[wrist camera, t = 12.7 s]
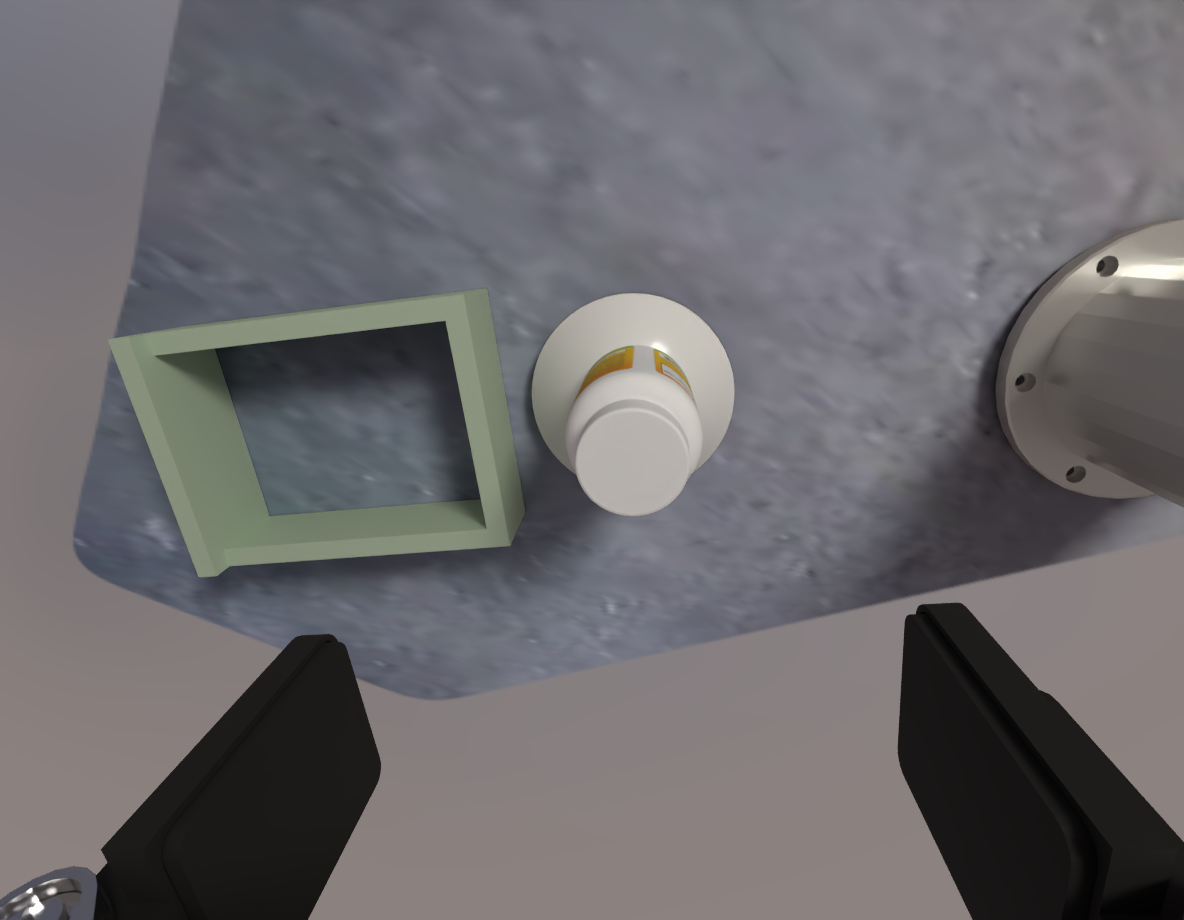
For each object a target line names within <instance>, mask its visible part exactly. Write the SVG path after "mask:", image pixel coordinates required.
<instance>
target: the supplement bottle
mask: <svg viewBox="0 0 1184 920" xmlns="http://www.w3.org/2000/svg"><path fill="white" fill-rule="evenodd" d="M565 442H566V449H567V453H568V456H569V459H570V462H571V464H572V467H573V469H574V470H575V472H576V475H577V478H578V481H579V483H580V485H581V487H582V489H583V490H584V492H585V493H586V494H587V496H588V497H589V498H590V499H591V500H592V501H593V502H595V503H596V504H597V505H598V506H600V507H601V508H603V509H605V510H607V511H609V512H612V513H615V514H619V515H623V516H642V515H647V514H651V513H654V512H656V511H659V510H661V509H662V508H664V507H666V506H667V505H668V504H670V503H671V502H672V501H673V500H675V498H676V497H677V496H678V495H679V494H680V492H681V491H682V489H683V487H684V485H685V483H686V481H687V480H688V479H689V477H690V476H691V475H692V473H693V472H694V470H695V468H696V466H697V464H698V462H699V459H700V456H701V452H702V447H703V429H702V423H701V418H700V414H699V411H698V409H697V406H696V403H695V399H694V396H693V393H692V390H691V387H690V384H689V382H688V379H687V377H686V375H685V373H684V372H683V370H682V368H681V367H680V366H679V365H678V363H677V362H676V361H675V360H674V359H673V358H671V357H670V356H669V355H667V354H666V353H664V352H663V351H660V350H658V349H656V348H653V347H649V346H644V345H629V346H624V347H620V348H617V349H614V350H612V351H610V352H608V353H607V354H605V355H604V356H602V357H601V358H600V359H599V360H598V361H597V362H596V363H595V364H594V365H593V366H592V367H591V369H590V370H589V372H588V373H587V375H586V377H585V379H584V381H583V384H582V386H581V388H580V390H579V392H578V395H577V397H576V399H575V401H574V403H573V406H572V408H571V410H570V413H569V416H568V419H567V424H566V431H565Z"/></svg>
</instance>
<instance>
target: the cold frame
mask: <svg viewBox="0 0 1184 920" xmlns="http://www.w3.org/2000/svg"><path fill="white" fill-rule="evenodd" d="M440 321H446V326H447V331H448V336H449V341H450V346H451V351H452V356H453V361H454V366H455V371H456V376H457V381H458V386H459V391H460V396H461V401H462V406H463V411H464V416H465V421H466V427H467V432H468V437H469V442H470V447H471V452H472V457H473V462H474V467H475V472H476V477H477V482H478V487H479V492H480V497H481V499H474V500H462V501H449V502H437V503H425V504H413V505H401V506H388V507H376V508H364V509H352V510H340V511H327V512H315V513H303V514H291V515H279V516H269V513H268V510H267V507H266V504H265V501H264V498H263V494H262V491H261V488H260V485H259V482H258V479H257V476H256V473H255V470H254V467H253V464H252V461H251V458H250V455H249V452H248V448H247V445H246V442H245V439H244V436H243V433H242V430H241V427H240V424H239V421H238V418H237V415H236V412H235V409H234V406H233V403H232V399H231V396H230V393H229V390H228V387H227V384H226V381H225V378H224V375H223V372H222V369H221V366H220V363H219V360H218V357H217V353H216V350H215V348H223V347H231V346H239V345H248V344H256V343H264V342H273V341H281V340H289V339H298V338H306V337H314V336H323V335H331V334H339V333H348V332H356V331H365V330H373V329H381V328H390V327H398V326H406V325H415V324H423V323H431V322H440ZM108 342H109V344H110V347H111V349H112V352H113V355H114V357H115V360H116V362H117V365H118V368H119V370H120V373H121V375H122V378H123V381H124V383H125V386H126V389H127V391H128V394H129V396H130V399H131V402H132V404H133V407H134V409H135V412H136V415H137V417H138V420H139V423H140V425H141V428H142V430H143V433H144V436H145V438H146V441H147V443H148V446H149V449H150V451H151V454H152V457H153V459H154V462H155V464H156V467H157V470H158V472H159V475H160V477H161V480H162V483H163V485H164V488H165V491H166V493H167V496H168V498H169V501H170V504H171V506H172V509H173V511H174V514H175V517H176V519H177V522H178V524H179V527H180V530H181V532H182V535H183V538H184V540H185V543H186V545H187V548H188V551H189V553H190V556H191V558H192V561H193V564H194V566H195V569H196V572H197V574H198V577H211V576H218V575H219V574H220V573H222V572H223V571H224V570H225V569H227V568H228V567H229V566H239V565H253V564H267V563H281V562H295V561H309V560H323V559H337V558H351V557H365V556H379V555H393V554H406V553H420V552H434V551H448V550H462V549H476V548H490V547H504V546H510V545H511V543H512V541H513V539H514V537H515V534H516V532H517V530H518V528H519V526H520V523H521V521H522V519H523V517H524V515H525V512H526V511H525V506H524V500H523V494H522V488H521V482H520V477H519V471H518V465H517V459H516V454H515V448H514V442H513V436H512V430H511V425H510V419H509V413H508V407H507V402H506V396H505V390H504V384H503V378H502V373H501V367H500V361H499V355H498V350H497V344H496V338H495V332H494V326H493V321H492V315H491V309H490V303H489V298H488V292H487V288H485V289H477V290H469V291H461V292H453V293H445V294H437V295H429V296H421V297H414V298H406V299H398V300H390V301H382V302H374V303H366V304H358V305H350V306H342V307H334V308H326V309H318V310H310V311H302V312H294V313H286V314H278V315H270V316H262V317H254V318H246V319H238V320H230V321H222V322H214V323H206V324H198V325H190V326H184V327H178V328H172V329H167V330H161V331H155V332H149V333H143V334H137V335H131V336H125V337H119V338H114V339H108Z"/></svg>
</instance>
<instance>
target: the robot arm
mask: <svg viewBox="0 0 1184 920" xmlns="http://www.w3.org/2000/svg"><path fill="white" fill-rule="evenodd" d="M1097 264H1098V266H1097ZM1096 267H1097V268H1096ZM1018 377H1019V379H1018V381H1017V382H1016V380H1017V378H1018ZM1015 382H1016V383H1015ZM995 388H996V405H997V413H998V416H999V419H1000V423H1001V426H1002V430H1003V432H1004V434H1005V436H1006V438H1007V439H1008V441H1009V443H1010V445H1011V446H1012V448H1013V450H1014V451H1015V452H1016V453H1017V455H1018V456H1019V457H1020V458H1021V459H1022V460H1023V461H1024V462H1025V463H1026V464H1027V465H1028V466H1029V467H1030V468H1032V469H1033V470H1035V471H1036V472H1038V473H1039V474H1041V475H1042V476H1044V477H1045V478H1047V479H1049V480H1050V481H1052V482H1054V483H1056V484H1058V485H1060V486H1062V487H1063V488H1066V489H1068V490H1071V491H1075V492H1078V493H1082V494H1085V495H1089V496H1093V497H1103V498H1114V499H1124V498H1138V497H1148V496H1152V495H1159V496H1161V497H1163V498H1165V499H1167V500H1169V501H1171V502H1174V503H1176V504H1178V505H1180V506H1182V507H1184V219H1180V220H1172V221H1164V222H1156V223H1150V224H1147V225H1144V226H1140V227H1137V228H1134V229H1130V230H1127V231H1124V232H1121V233H1119V234H1117V235H1115V236H1113V237H1110V238H1108V239H1106V240H1104V241H1102V242H1100V243H1098V244H1096V245H1094V246H1092V247H1090V248H1089V249H1087V250H1086V251H1084V252H1083V253H1082V254H1080V255H1079V256H1077V257H1076V258H1074V259H1073V260H1071V261H1070V262H1068V263H1067V264H1065V265H1064V266H1063V267H1062V268H1061V269H1060V270H1059V271H1058V272H1057V273H1056V274H1054V275H1053V276H1052V277H1051V278H1050V279H1049V280H1048V281H1047V282H1046V283H1045V284H1044V285H1043V286H1042V287H1041V288H1040V289H1039V290H1038V292H1037V293H1036V294H1035V295H1034V297H1033V298H1032V299H1031V300H1030V302H1029V303H1028V304H1027V305H1026V307H1025V308H1024V309H1023V310H1022V312H1021V314H1020V316H1019V318H1018V319H1017V321H1016V323H1015V325H1014V326H1013V328H1012V330H1011V332H1010V334H1009V335H1008V338H1007V341H1006V344H1005V346H1004V349H1003V352H1002V355H1001V358H1000V361H999V366H998V373H997V379H996V386H995ZM898 757H899V762H900V766H901V770H902V772H903V775H904V777H905V779H906V781H907V784H908V785H909V788H910V790H911V792H912V794H913V796H914V798H915V800H916V802H917V804H918V807H919V809H920V811H921V813H922V815H923V817H924V819H925V821H926V823H927V825H928V827H929V830H930V831H931V834H932V836H933V838H934V840H935V842H936V844H937V846H938V848H939V850H940V853H941V854H942V856H943V859H944V861H945V863H946V865H947V867H948V869H949V871H950V873H951V876H952V878H953V880H954V882H955V884H956V886H957V888H958V890H959V892H960V894H961V896H962V899H963V901H964V903H965V905H966V907H967V909H968V911H969V913H970V915H971V917H972V919H973V920H1184V842H1183V841H1182V840H1181V839H1180V837H1179V836H1178V835H1177V834H1176V833H1175V832H1174V831H1173V830H1172V829H1171V828H1170V827H1169V825H1168V824H1167V823H1166V822H1165V821H1164V820H1163V818H1162V817H1161V816H1160V815H1159V814H1158V813H1157V812H1156V811H1155V810H1154V808H1153V807H1152V806H1151V805H1150V804H1149V803H1148V802H1147V801H1146V800H1145V798H1144V797H1143V796H1142V795H1141V794H1140V793H1139V792H1138V791H1137V790H1136V789H1135V787H1134V786H1133V785H1132V784H1131V783H1130V782H1129V781H1128V779H1127V778H1126V777H1125V776H1124V775H1123V774H1122V773H1121V772H1120V770H1119V769H1118V768H1117V767H1116V766H1115V765H1114V764H1113V763H1112V762H1111V761H1110V759H1109V758H1108V757H1107V756H1106V755H1105V754H1104V753H1103V752H1102V751H1101V749H1100V748H1099V747H1098V746H1097V745H1096V744H1095V743H1094V741H1093V740H1092V739H1091V738H1090V737H1089V736H1088V735H1087V734H1086V733H1085V731H1084V730H1083V729H1082V728H1081V727H1080V726H1079V725H1078V724H1077V723H1076V721H1074V719H1073V718H1072V717H1071V716H1070V715H1069V714H1068V712H1067V711H1066V710H1065V709H1064V708H1063V707H1062V706H1061V705H1060V704H1059V702H1058V701H1056V700H1055V699H1054V698H1053V697H1052V696H1051V695H1050V694H1048V693H1045V692H1043V691H1040V690H1038V689H1037V687H1036V686H1035V685H1034V684H1033V683H1032V682H1031V681H1030V679H1029V678H1028V677H1027V676H1026V675H1025V674H1024V673H1023V672H1022V670H1021V669H1020V668H1019V667H1018V666H1017V665H1016V663H1015V662H1014V661H1013V660H1012V659H1011V658H1010V657H1009V655H1008V654H1007V653H1006V652H1005V651H1004V650H1003V649H1002V647H1001V646H1000V645H999V644H998V643H997V642H996V641H995V639H994V638H993V637H992V636H991V635H990V634H989V633H988V631H987V630H986V629H985V628H984V627H983V626H982V625H981V623H979V622H978V620H977V619H976V618H975V617H974V615H973V614H972V613H971V612H970V611H969V610H968V609H967V608H966V607H965V606H964V605H963V604H961V603H942V604H923V605H920V606H918V608H917V611H916V614H914V615H908V616H907V617H906V619H905V628H904V646H903V664H902V681H901V699H900V717H899V735H898ZM380 771H381V761H380V757H379V754H378V750H377V747H376V744H375V740H374V737H373V734H372V730H371V727H370V724H369V721H368V717H367V714H366V711H365V707H364V704H363V701H362V698H361V694H360V691H359V688H358V684H357V681H356V678H355V675H354V671H353V668H352V665H351V661H350V658H349V655H348V652H347V649H346V646H345V645H344V644H343V643H341V642H338V641H337V639H336V638H335V637H334V636H333V635H330V634H322V635H302V636H298V637H296V638H294V639H293V640H292V641H291V642H290V643H289V644H288V645H287V646H286V648H285V649H284V650H283V651H282V652H281V653H280V654H279V655H278V656H277V658H276V659H275V660H274V661H273V662H272V663H271V664H270V665H269V666H268V667H267V668H266V669H265V671H264V672H263V673H262V674H261V675H260V676H259V677H258V678H257V679H256V681H254V683H253V684H252V685H251V686H250V687H249V688H248V689H247V690H246V691H245V692H244V693H243V695H242V696H241V697H240V698H239V699H238V700H237V701H236V702H235V703H234V704H233V705H232V707H231V708H230V709H229V710H228V711H227V712H226V713H225V714H224V715H223V717H222V718H221V719H220V720H219V721H218V722H217V723H216V724H215V725H214V726H213V727H212V728H211V730H210V731H209V732H208V733H207V734H206V735H205V736H204V737H203V738H202V739H201V741H200V742H199V743H198V744H197V745H196V746H195V747H194V748H193V749H192V751H190V753H189V754H188V755H187V756H186V757H185V758H184V759H183V761H181V762H180V763H179V765H178V766H177V767H176V768H175V769H174V770H173V771H172V772H171V773H170V774H169V776H168V777H167V778H166V779H165V780H164V781H163V782H162V783H161V784H160V785H159V786H158V788H157V789H156V790H155V791H154V792H153V793H152V794H151V795H150V796H149V797H148V798H147V800H146V801H145V802H144V803H143V804H142V805H141V806H140V807H139V808H138V809H137V810H136V812H135V813H134V814H133V815H132V816H131V817H130V818H129V819H128V820H127V821H126V822H125V824H124V825H123V826H122V827H121V828H120V829H119V830H118V831H117V832H116V834H115V835H114V836H113V837H112V838H111V839H110V840H109V841H108V842H107V843H106V844H105V846H104V847H103V848H102V849H101V851H102V853H103V854H104V856H105V858H106V860H107V862H108V863H107V864H106V865H105V866H104V867H103V868H102V870H101V871H100V872H99V873H98V874H97V875H95V874H94V873H93V872H92V871H91V870H89V869H88V868H83V867H75V866H73V867H68V868H64V869H58V870H54V871H52V872H50V873H47V874H45V875H42V876H40V877H37V878H35V879H33V880H31V881H29V882H27V883H26V884H24V885H22V886H21V887H19V888H17V889H16V890H14V891H12V892H10V893H9V894H7V895H6V896H5V897H3V898H2V899H1V900H0V920H308V918H309V916H310V914H311V912H312V910H313V909H314V907H315V904H316V903H317V901H318V899H319V897H320V895H321V893H322V891H323V889H324V887H325V885H326V883H327V881H328V879H329V877H330V875H331V873H332V871H333V869H334V867H335V865H336V864H337V862H338V860H339V858H340V856H341V854H342V852H343V850H344V848H345V846H346V844H347V842H348V840H349V838H350V836H351V834H352V832H353V830H354V828H355V826H356V824H357V822H358V821H359V819H360V817H361V815H362V812H363V811H364V809H365V807H366V805H367V803H368V801H369V799H370V797H371V795H372V793H373V791H374V789H375V787H376V785H377V783H378V780H379V777H380Z"/></svg>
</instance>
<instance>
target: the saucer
mask: <svg viewBox="0 0 1184 920" xmlns="http://www.w3.org/2000/svg"><path fill="white" fill-rule="evenodd" d="M629 345H644V346H649V347H653V348H656V349H658V350H660V351H663V352H664V353H666V354H667V355H669V356H670V357H671V358H673V359H674V360H675V361H676V362H677V363H678V365H679V366H680V367H681V368H682V370H683V372H684V373H685V375H686V377H687V379H688V382H689V384H690V387H691V390H692V393H693V396H694V399H695V403H696V406H697V409H698V411H699V414H700V418H701V423H702V429H703V447H702V452H701V456H700V459H699V462H698V464H697V466H696V468H695V470H697V469H698V468H699V467H700V466H702V465H703V464H704V463H705V462H706V461H707V460H708V459H709V458H710V456H711V455H712V454H713V453H714V451H715V450H716V449H717V447H718V446H719V444H720V442H721V441H722V439H723V437H724V435H725V433H726V431H727V428H728V426H729V423H730V419H731V416H732V411H733V405H734V380H733V373H732V370H731V366H730V362H729V359H728V357H727V355H726V352H725V350H724V348H723V346H722V345H721V343H720V341H719V339H718V338H717V336H716V335H715V334H714V333H713V331H712V330H711V329H710V328H709V326H708V325H707V324H706V323H705V322H704V321H703V320H702V319H701V318H700V317H699V316H697V315H696V314H695V313H693V312H692V311H691V310H689V309H688V308H686V307H684V306H683V305H681V304H679V303H677V302H675V301H672V300H670V299H667V298H664V297H661V296H657V295H652V294H646V293H621V294H615V295H610V296H606V297H603V298H600V299H597V300H595V301H593V302H591V303H589V304H587V305H584V306H583V307H581V308H580V309H578V310H577V311H575V312H574V313H572V314H571V315H570V316H569V317H568V318H567V319H565V320H564V321H563V322H562V323H561V324H560V325H559V326H558V327H557V328H556V330H555V331H554V332H553V333H552V334H551V336H550V337H549V339H548V340H547V342H546V343H545V345H544V347H543V349H542V351H541V353H540V355H539V357H538V361H537V364H536V367H535V370H534V376H533V381H532V404H533V411H534V415H535V420H536V423H537V425H538V428H539V431H540V433H541V435H542V437H543V439H544V441H545V443H546V444H547V446H548V447H549V449H550V450H551V452H552V453H553V454H554V455H555V457H556V458H557V459H558V460H559V461H560V462H561V463H562V464H563V465H564V466H565V467H567V468H568V469H569V470H570V471H571V472H573V473H574V474H576V472H575V470H574V469H573V467H572V464H571V462H570V459H569V456H568V453H567V449H566V442H565V431H566V424H567V419H568V416H569V413H570V410H571V408H572V406H573V403H574V401H575V399H576V397H577V395H578V392H579V390H580V388H581V386H582V384H583V381H584V379H585V377H586V375H587V373H588V372H589V370H590V369H591V367H592V366H593V365H594V364H595V363H596V362H597V361H598V360H599V359H600V358H601V357H602V356H604V355H605V354H607V353H608V352H610V351H612V350H614V349H617V348H620V347H624V346H629ZM695 470H694V471H695Z"/></svg>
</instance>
